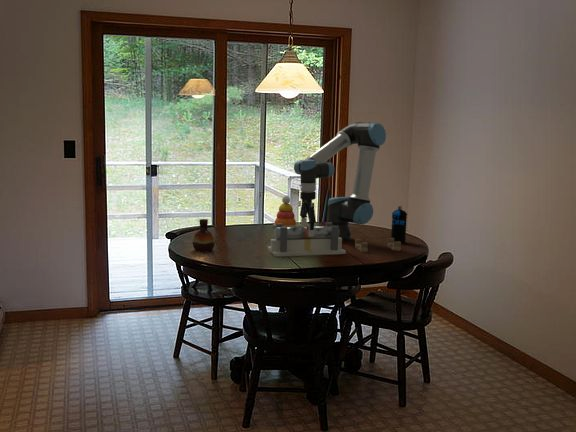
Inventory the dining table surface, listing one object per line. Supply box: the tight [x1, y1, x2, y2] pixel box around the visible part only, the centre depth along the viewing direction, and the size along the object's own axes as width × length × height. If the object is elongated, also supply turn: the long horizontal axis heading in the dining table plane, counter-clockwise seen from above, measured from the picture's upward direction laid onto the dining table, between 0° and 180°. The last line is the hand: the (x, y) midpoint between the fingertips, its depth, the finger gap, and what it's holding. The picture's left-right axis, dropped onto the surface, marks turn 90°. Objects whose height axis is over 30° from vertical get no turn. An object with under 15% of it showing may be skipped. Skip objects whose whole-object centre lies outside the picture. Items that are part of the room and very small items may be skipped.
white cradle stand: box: [267, 221, 347, 257], centre depth 308 cm, size 16×36×14 cm, turn 104°
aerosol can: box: [390, 205, 408, 244], centre depth 335 cm, size 8×8×20 cm
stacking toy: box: [273, 195, 298, 228], centre depth 371 cm, size 14×14×20 cm
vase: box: [191, 218, 216, 253], centre depth 305 cm, size 11×11×15 cm
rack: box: [354, 237, 402, 253], centre depth 318 cm, size 10×21×4 cm, turn 104°
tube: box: [273, 225, 339, 240], centre depth 308 cm, size 32×6×6 cm, turn 104°
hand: (307, 233), depth 308 cm, fingers open, 13 cm apart
